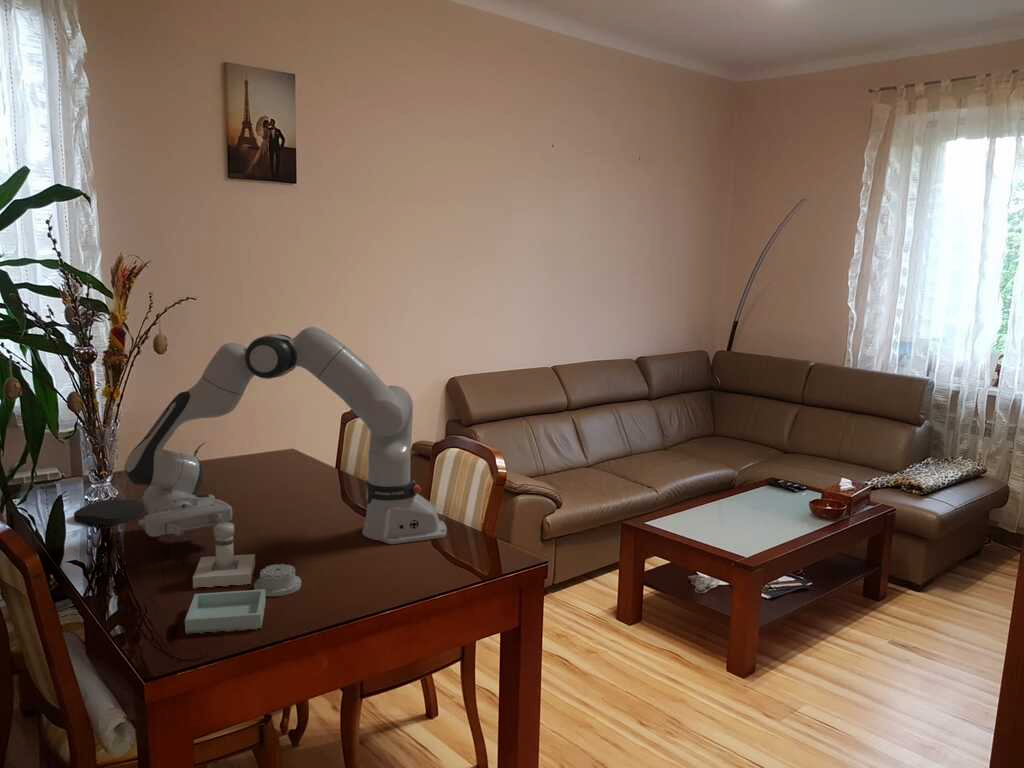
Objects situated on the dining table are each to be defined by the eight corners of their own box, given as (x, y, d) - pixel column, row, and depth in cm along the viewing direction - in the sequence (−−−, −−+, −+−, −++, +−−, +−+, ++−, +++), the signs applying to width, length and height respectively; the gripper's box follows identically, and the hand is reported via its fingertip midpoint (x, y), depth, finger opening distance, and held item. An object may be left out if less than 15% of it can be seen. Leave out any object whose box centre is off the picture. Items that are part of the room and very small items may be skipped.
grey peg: (236, 571, 181) (235, 522, 179) (234, 579, 176) (232, 528, 174) (216, 572, 180) (214, 522, 178) (213, 580, 175) (212, 529, 173)
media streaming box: (115, 528, 207) (114, 517, 207) (67, 523, 210) (66, 512, 210) (150, 511, 222) (150, 501, 221) (105, 506, 224) (105, 496, 224)
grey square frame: (255, 564, 185) (254, 554, 185) (250, 584, 174) (250, 574, 173) (201, 567, 182) (201, 557, 182) (193, 588, 171) (192, 577, 170)
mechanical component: (287, 575, 180) (246, 587, 173) (287, 557, 179) (246, 568, 172) (309, 589, 173) (267, 602, 166) (309, 570, 172) (267, 582, 165)
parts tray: (265, 602, 165) (265, 589, 164) (261, 628, 153) (260, 614, 153) (195, 607, 162) (194, 593, 161) (185, 634, 150) (184, 620, 150)
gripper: (134, 508, 187) (155, 523, 178) (218, 493, 202) (241, 506, 192) (135, 533, 188) (156, 549, 179) (218, 516, 203) (242, 531, 193)
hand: (201, 527), depth 185 cm, fingers open, 8 cm apart
